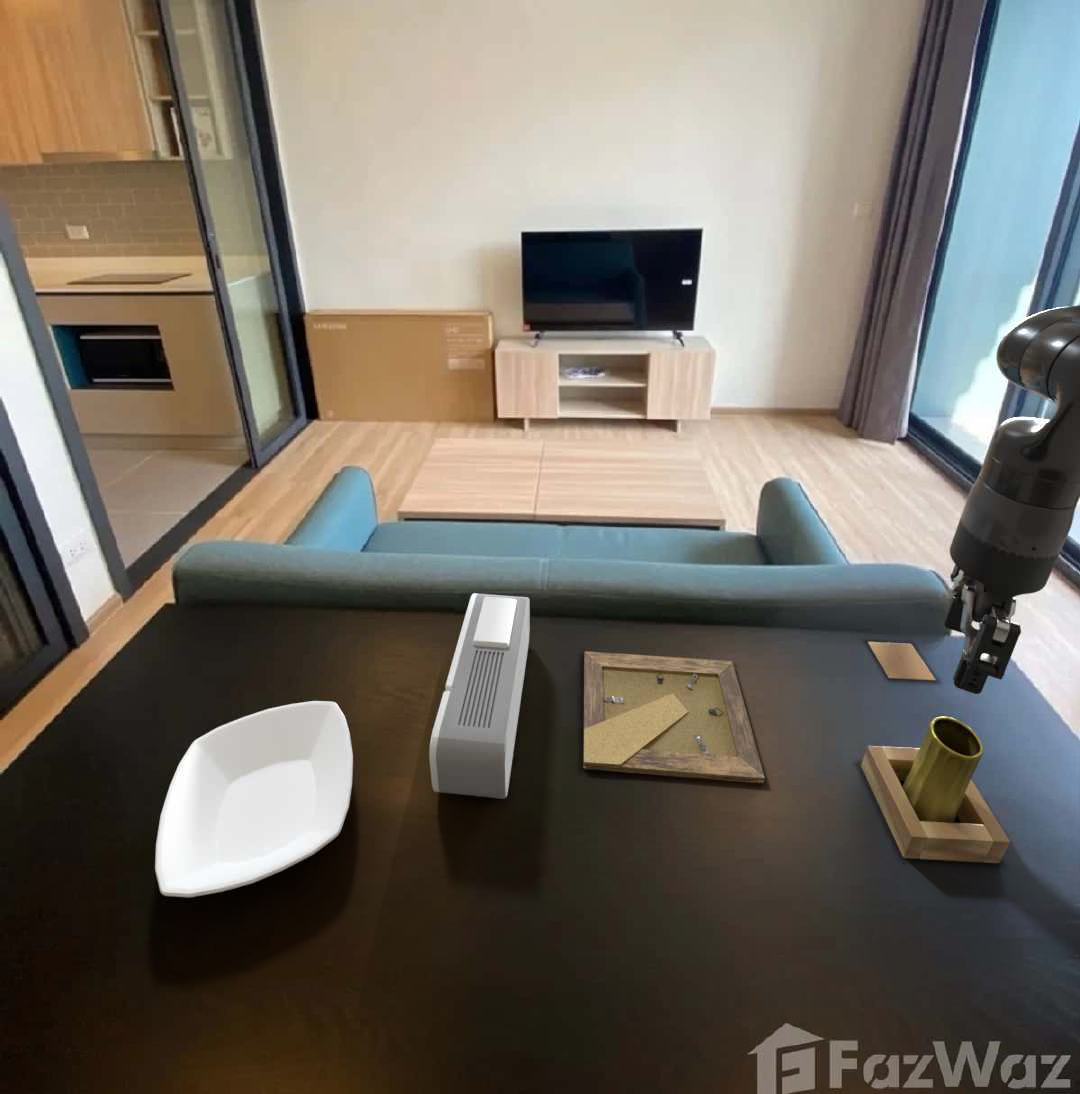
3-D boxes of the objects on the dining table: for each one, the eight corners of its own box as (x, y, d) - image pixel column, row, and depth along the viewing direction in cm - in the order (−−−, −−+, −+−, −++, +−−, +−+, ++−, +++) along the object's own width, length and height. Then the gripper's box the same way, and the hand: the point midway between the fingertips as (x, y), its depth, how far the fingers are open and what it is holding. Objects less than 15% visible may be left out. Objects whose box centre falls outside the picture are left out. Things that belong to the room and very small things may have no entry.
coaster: (910, 646, 98) (911, 643, 97) (935, 682, 91) (936, 679, 91) (866, 644, 98) (867, 641, 98) (888, 680, 91) (889, 677, 91)
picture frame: (583, 770, 78) (763, 785, 76) (583, 762, 77) (765, 776, 76) (584, 658, 95) (731, 667, 93) (584, 649, 94) (732, 659, 93)
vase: (933, 788, 76) (965, 713, 70) (964, 840, 70) (1001, 762, 65) (887, 787, 76) (915, 711, 71) (913, 838, 71) (946, 761, 65)
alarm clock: (475, 637, 99) (472, 583, 94) (529, 642, 98) (529, 587, 93) (433, 805, 74) (427, 742, 69) (505, 813, 73) (504, 750, 68)
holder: (943, 771, 78) (952, 749, 76) (998, 865, 68) (1010, 841, 66) (859, 767, 79) (867, 745, 77) (902, 859, 68) (912, 836, 67)
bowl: (188, 757, 79) (179, 731, 77) (353, 711, 86) (349, 686, 84) (147, 949, 60) (134, 921, 58) (362, 871, 67) (357, 843, 65)
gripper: (1085, 590, 46) (1019, 728, 53) (1042, 500, 58) (992, 622, 64) (972, 560, 50) (923, 695, 56) (953, 481, 61) (913, 600, 68)
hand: (960, 656), depth 60 cm, fingers open, 8 cm apart
